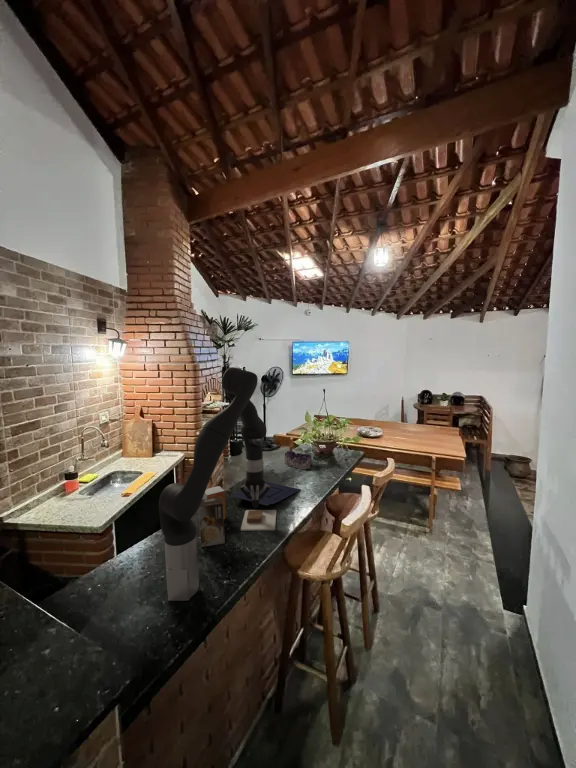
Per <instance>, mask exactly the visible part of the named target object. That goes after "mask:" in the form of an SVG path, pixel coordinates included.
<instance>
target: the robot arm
mask: <svg viewBox="0 0 576 768" xmlns="http://www.w3.org/2000/svg"><path fill="white" fill-rule="evenodd" d="M258 378H259V377H258V374H256V373H255V372H252V371H249V370H246V369H242V368H238V367H228V368H227V369H226V370H225V371H224V372H223V376H222V379H221V386H222V388H223V390H224V392H225V393H226V395H227V397H228V398H229V400H230V401H231V402H230V403H229V404H228V405H227V406H226V407H225V408H223V409H222V410H221V411H219V412H218V413H216V414H215V415H213V416H211V418H209V419H208V420H207V421H206V422H205V423H204V425H203V427H202V428H201V430H200V432H199V434H198V436H197V438H196V440H195V443H194V449H193V450H194V451H193V463H192V468H191V471H190V473H189V476H188V478H187V479H186V482H185V483H184V484H181V483H178V482H174V483H171V484H168V485H167V486H166V487H164V488H163V490H161V491H162V492H161V493H160V495H159V500H158V513H159V523H160V529H161V532H162V534H163V537H164V555H165V556H164V557H165V571H166V572H165V574H166V589H167V600H168V601H169V602H171V601H172V602H173V601H175V602H176V601H177V602H178V601H179V602H181V601H182V602H183V601H185V602H186V601H190V599H191V598H192V597H193V596H194V595H196V593H197V592H198V591H199V586H200V584H199V567H198V566H199V564H198V563H199V562H198V561H199V560H198V546H197V545H198V543H197V541H198V540H197V526H196V524H195V523H194V521H193V520H192V518H193V517H194V516H195V515H196V513H197V512H198V511H199V506H200V504H201V501H202V499H203V496H204V493H205V491H206V489H208V486H209V483H210V480H211V477H212V475H213V473H214V471H215V469H216V466H217V464H218V462H219V459H220V457H222V456H221V455H222V454H223V451H224V450H225V448H226V446H227V444H228V442H229V440H230V438H231V435H232V434H233V432H234V429H235V428H236V425H237V423H238V420H239V419H240V421H241V424H242V425H241V427H240V433H241V437H242V440H243V443H244V447H245V483H244V484H243V485H241V487H240V490H241V491H242V492H243V493H244V494H245V495H246V497H247V498H248V499H252V501H251V503H252V504H251V506H252V507H253V509H258V508H259V506H260V504H259V499H260V498H261V499H262V498H263V497H264V495H265V494H266V493H267V492H268V490H269V488H270V486H269V485H267V484H265V481H266V480H265V479H264V477H265V474H264V471H265V470H264V457H263V456H264V454H263V453H264V452H263V445H262V444H260V443H258V442H254V441H253V440H262V439H264V438H265V437H266V436H267V426H266V423H265V422H264V420H262V419H261V418H260V416H259V414H258V409H257V408H256V405H255V404H254V403H253V402H252V401H251V398H252V397H253V395H254V393H255V391H256V389H257V385H258V381H259V380H258ZM263 487H264V490H263V492H262V493H261V494H260V495H259V491H261V489H262V488H263ZM247 488H248V489H249V490H250V491H251V494H250V493H249V491H248V490H247ZM255 492H256V498H255Z"/></svg>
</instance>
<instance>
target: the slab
mask: <svg viewBox="0 0 576 768" xmlns="http://www.w3.org/2000/svg"><path fill="white" fill-rule="evenodd" d="M252 510H253V511H249V512H248V516H247V523H261V521H262V510H263V509H252Z"/></svg>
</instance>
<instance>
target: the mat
mask: <svg viewBox="0 0 576 768" xmlns="http://www.w3.org/2000/svg"><path fill="white" fill-rule="evenodd" d="M253 510H254V509H246V510H245V511H244V515H243V519H242V522H241V526H240V531H244V532H245V531H247V532H251V531H276V519H277V509H261V510H262V521H261V523H247V516H248V512H249V511H253Z"/></svg>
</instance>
